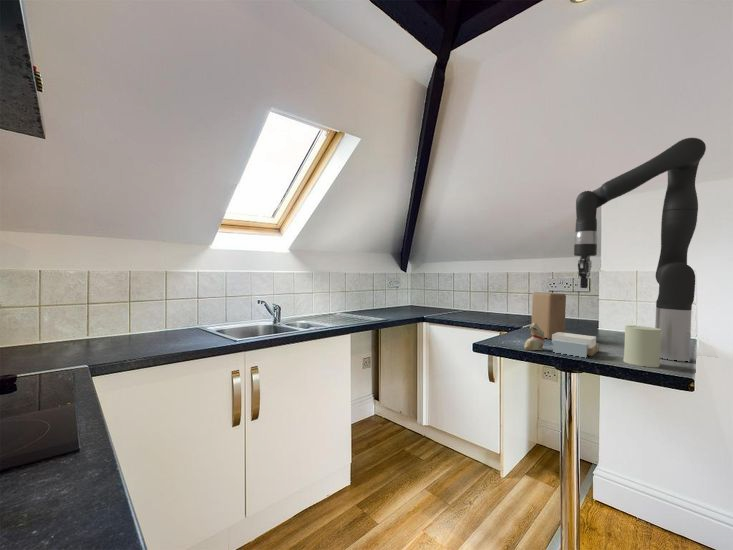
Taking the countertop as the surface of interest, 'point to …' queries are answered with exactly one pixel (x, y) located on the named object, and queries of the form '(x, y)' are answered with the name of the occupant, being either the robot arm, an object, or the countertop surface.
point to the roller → (590, 351)
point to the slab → (575, 338)
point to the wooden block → (549, 312)
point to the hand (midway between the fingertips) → (584, 287)
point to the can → (642, 346)
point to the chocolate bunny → (535, 339)
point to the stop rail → (570, 348)
